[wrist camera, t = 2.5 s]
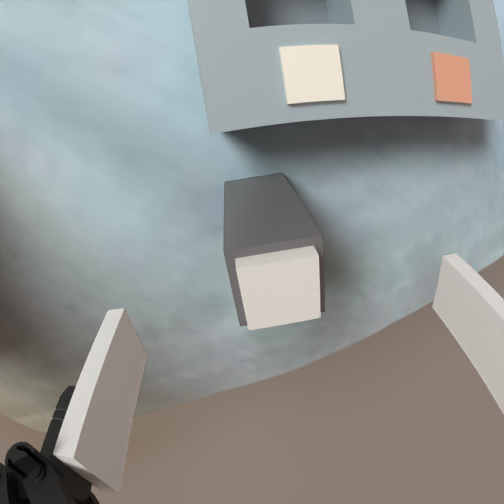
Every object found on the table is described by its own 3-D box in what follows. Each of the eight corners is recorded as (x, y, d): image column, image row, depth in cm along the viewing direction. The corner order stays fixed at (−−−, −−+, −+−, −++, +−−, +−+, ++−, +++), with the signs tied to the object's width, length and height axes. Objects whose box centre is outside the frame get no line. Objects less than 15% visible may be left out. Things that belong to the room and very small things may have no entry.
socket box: (214, 125, 19) (210, 135, 15) (184, -55, 13) (174, -89, 8) (464, 111, 19) (508, 122, 15) (440, -40, 13) (479, -54, 8)
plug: (234, 233, 23) (240, 337, 14) (224, 181, 21) (223, 261, 12) (288, 225, 23) (329, 322, 14) (282, 172, 21) (328, 244, 12)
